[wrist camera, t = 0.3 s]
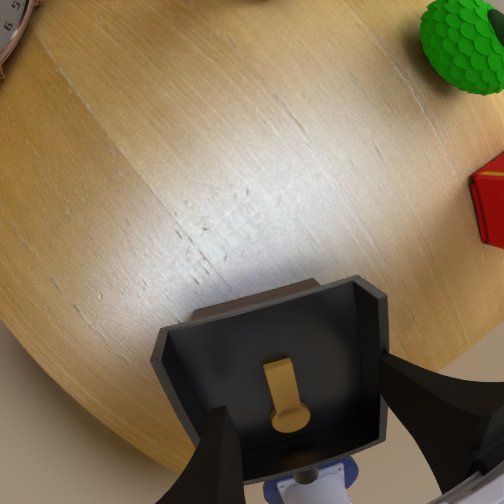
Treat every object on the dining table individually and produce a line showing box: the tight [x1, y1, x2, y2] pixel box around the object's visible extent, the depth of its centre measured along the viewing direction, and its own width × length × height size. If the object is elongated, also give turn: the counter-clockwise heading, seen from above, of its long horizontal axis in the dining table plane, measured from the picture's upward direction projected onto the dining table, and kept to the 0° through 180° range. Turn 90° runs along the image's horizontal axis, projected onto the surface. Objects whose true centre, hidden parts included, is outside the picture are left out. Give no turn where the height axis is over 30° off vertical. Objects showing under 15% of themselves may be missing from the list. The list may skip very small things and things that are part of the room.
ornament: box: [419, 0, 504, 96], centre depth 12 cm, size 8×8×10 cm
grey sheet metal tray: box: [150, 275, 389, 485], centre depth 14 cm, size 13×10×3 cm
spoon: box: [263, 358, 310, 433], centre depth 15 cm, size 5×2×1 cm, turn 13°
